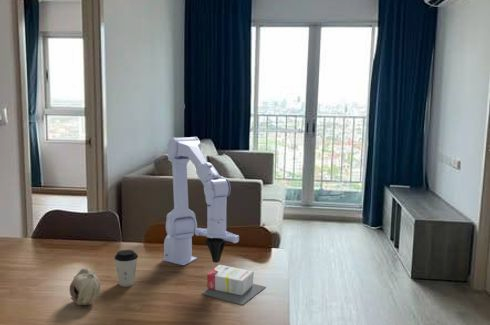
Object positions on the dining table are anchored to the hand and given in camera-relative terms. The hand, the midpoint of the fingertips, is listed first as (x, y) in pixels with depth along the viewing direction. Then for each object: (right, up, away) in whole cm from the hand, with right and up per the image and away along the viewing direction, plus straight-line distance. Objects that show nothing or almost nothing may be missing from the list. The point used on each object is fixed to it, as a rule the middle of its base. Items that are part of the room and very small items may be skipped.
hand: (216, 261), depth 140 cm
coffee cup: (-28, -7, +2) cm, 29 cm away
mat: (+6, -8, -2) cm, 10 cm away
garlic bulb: (-36, -9, -12) cm, 39 cm away
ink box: (-1, -5, +2) cm, 5 cm away
